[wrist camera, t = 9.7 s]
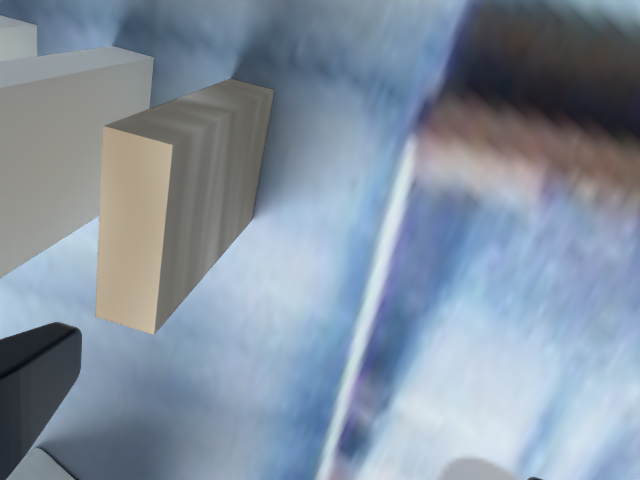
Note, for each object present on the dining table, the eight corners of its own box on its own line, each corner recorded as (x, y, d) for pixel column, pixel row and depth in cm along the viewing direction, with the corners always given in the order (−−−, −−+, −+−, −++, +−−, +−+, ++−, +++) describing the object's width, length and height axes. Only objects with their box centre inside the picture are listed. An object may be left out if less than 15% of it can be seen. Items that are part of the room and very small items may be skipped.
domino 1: (154, 57, 19) (-17, 91, 12) (142, 188, 21) (-9, 283, 14) (111, 45, 19) (-82, 72, 12) (104, 176, 21) (-64, 265, 14)
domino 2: (274, 90, 19) (172, 145, 12) (252, 220, 21) (154, 334, 14) (230, 78, 19) (103, 125, 12) (212, 208, 21) (95, 316, 14)
